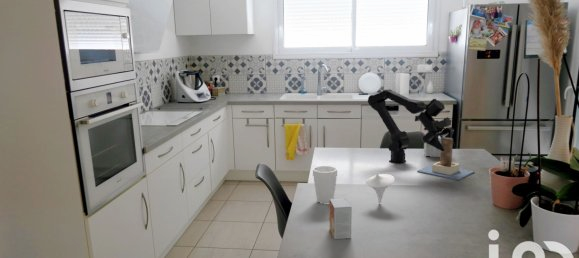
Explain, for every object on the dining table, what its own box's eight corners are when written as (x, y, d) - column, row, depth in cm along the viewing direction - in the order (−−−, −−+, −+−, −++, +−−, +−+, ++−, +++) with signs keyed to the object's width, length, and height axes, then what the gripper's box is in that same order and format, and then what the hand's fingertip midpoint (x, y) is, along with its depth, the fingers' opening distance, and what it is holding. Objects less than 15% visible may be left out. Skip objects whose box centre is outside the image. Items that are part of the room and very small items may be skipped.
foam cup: (339, 198, 168) (339, 166, 165) (334, 206, 159) (334, 173, 157) (316, 196, 171) (316, 165, 169) (310, 204, 162) (309, 171, 160)
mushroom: (379, 210, 154) (380, 179, 152) (360, 202, 163) (360, 172, 161) (400, 204, 159) (401, 174, 157) (379, 196, 168) (380, 167, 166)
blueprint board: (417, 171, 201) (417, 163, 200) (433, 165, 212) (434, 157, 211) (458, 180, 187) (459, 171, 186) (474, 172, 198) (474, 164, 197)
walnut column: (440, 166, 197) (441, 139, 195) (439, 164, 202) (441, 137, 200) (451, 167, 196) (453, 139, 193) (451, 164, 200) (452, 137, 198)
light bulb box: (443, 154, 233) (443, 134, 231) (446, 157, 227) (447, 137, 225) (423, 154, 234) (423, 135, 232) (425, 157, 228) (426, 137, 226)
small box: (329, 229, 140) (329, 198, 138) (346, 228, 140) (346, 197, 138) (333, 239, 132) (333, 207, 130) (351, 238, 132) (351, 206, 130)
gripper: (428, 114, 191) (450, 142, 185) (451, 110, 203) (472, 135, 196) (413, 129, 199) (433, 156, 192) (435, 124, 210) (455, 149, 204)
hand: (449, 149), depth 196 cm, fingers open, 9 cm apart
